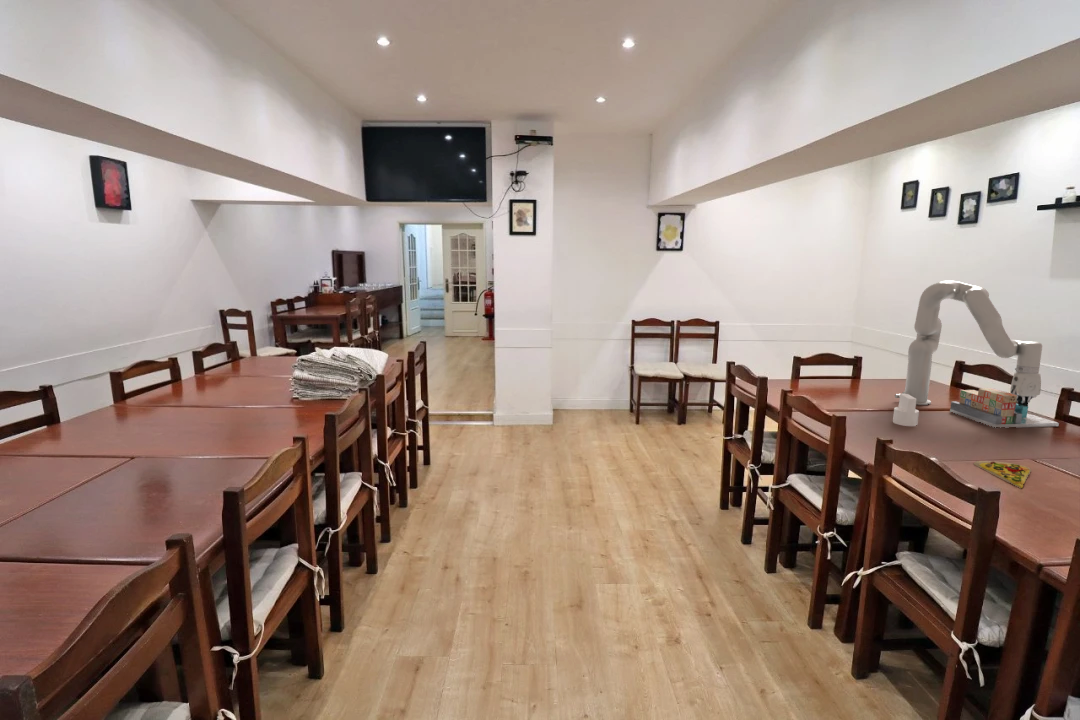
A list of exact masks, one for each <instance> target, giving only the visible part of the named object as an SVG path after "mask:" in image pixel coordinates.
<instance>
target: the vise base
mask: <svg viewBox="0 0 1080 720" xmlns="http://www.w3.org/2000/svg"><path fill="white" fill-rule="evenodd" d="M951 412H953V413H952V414H954V413H955V414H954V415H957V414H958V415H957V416H960V415H961V416H960V417H962V416H964V417H963V418H965V417H966V419H968V418H969V420H971V419H972V421H974V420H975V421H974V422H978V423H979V422H981V423H980V424H982V423H984V424H983V425H985V424H986V426H988V425H989V426H988V427H991V426H992V427H991V428H994V427H995V428H994V429H997V428H996V427H1000V428H999V429H1002V428H1001V427H1005V428H1004V429H1010V428H1009V427H1016V428H1041V427H1043V428H1044V427H1047V428H1048V427H1059V424H1060V423H1059V422H1057V421H1054V420H1050V419H1048V418H1044V417H1041V416H1038V415H1034V414H1031V413H1028V412H1027V418H1022V419H1021V423H1013V422H1012V423H1002V416H1000V415H997V414H993V413H990V412H987V411H984V410H981V409H978V408H975V407H972V406H969V405H966V404H963V403H960V401H956V400H955V401H951V402H950V409H949V413H951ZM1001 423H1002V424H1001Z"/></svg>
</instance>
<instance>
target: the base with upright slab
mask: <svg viewBox="0 0 1080 720" xmlns="http://www.w3.org/2000/svg"><path fill="white" fill-rule="evenodd" d="M899 394H900V398H898V399H899V400H898V406H895V407H894V408H893V415H892V417H893V418H892V422H893V424H895V425H900V426H904V427H905V426H906V427H917V426H918V423H919V415H920V410H919V409H916V406H917V405H916V398H914V397H912V396H910V395H909V394H902V393H899ZM916 425H917V426H916Z"/></svg>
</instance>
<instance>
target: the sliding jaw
mask: <svg viewBox="0 0 1080 720" xmlns="http://www.w3.org/2000/svg"><path fill="white" fill-rule="evenodd" d="M1028 410H1029V405H1028V406H1024V405H1021V404H1018V402H1016V406H1015V410H1014V416H1013V423H1021V419H1022V418H1027V413H1028Z"/></svg>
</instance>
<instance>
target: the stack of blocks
mask: <svg viewBox="0 0 1080 720" xmlns="http://www.w3.org/2000/svg"><path fill="white" fill-rule="evenodd" d="M959 395H960V396H959V402H960V403H963V404H966V405H969V406H972V407H975V408H978V409H981V410H984V411H987V412H990V413H993V414H997V415H1000V416H1002V423H1012V422H1013V416H1014V410H1015V406H1016V403H1017V395H1014V394H1011V392H1007V391H1003V390H1000V389H995V388H991V387H990V388H988V387H987V388H978V390H975V389H965V390H964V389H961V390H960V394H959ZM1002 423H1001V424H1002Z"/></svg>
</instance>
